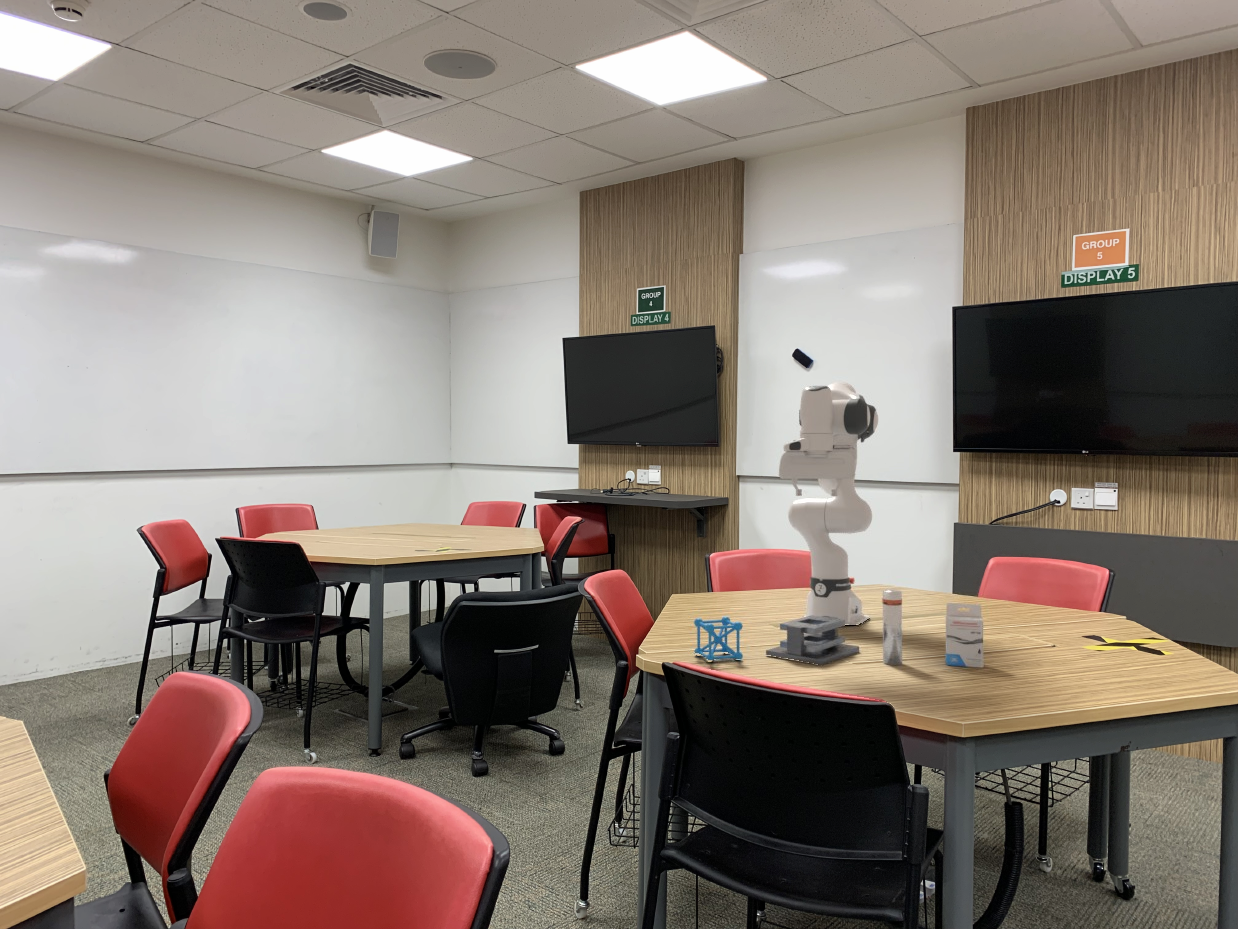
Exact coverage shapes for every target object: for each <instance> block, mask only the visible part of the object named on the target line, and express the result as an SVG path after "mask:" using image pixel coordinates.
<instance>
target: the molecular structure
mask: <svg viewBox="0 0 1238 929" xmlns="http://www.w3.org/2000/svg"><path fill="white" fill-rule="evenodd" d="M718 623H719V624H720V623H721V624H722V625H714V624H718ZM693 624H694V626H695V627H696V632H697V633H696V634H697V636H696V640H697V641H696V642H697V643H696V645H697V647H696V648H695V649H694V651H693V652H695V653H699V654H701V655H703V656H702V657H704V656H705V657H706V658H705V657H704V658H705V660H706V659H708V660H714V659H716V660H727V658H729V659H734V658H735V659H743V657H744V656H743V654H742V652H741V651H740V648H741V647H740V631H741V630H742V629H743V624H742V622H740V621H735V622H733V621H731V619H730V617H729V616H723V617H721V619H712V620H702V618H700V617H697V618H695V619H694V622H693ZM701 628H702V629H703V630H704V631H706V632H707V633H708V644H706V645H705V646H703V647H701ZM715 630H719V633H718V634H717V633H716V632H715ZM734 631H735V632H736V650H734V649H732V648H731V647H730V646H729V645H728V635H729V634H731V633H732V632H734ZM723 632H724V633H723ZM712 638H713V640H712ZM718 645H720V646H721V648H718ZM703 652H709V653H703ZM722 652H728V653H729V654H730V655H729V654H728V655H722V656H721V655H717V656H715V655H714V654H715V653H722ZM695 653H694V654H695ZM735 659H734V660H735ZM714 661H715V660H714Z"/></svg>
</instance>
